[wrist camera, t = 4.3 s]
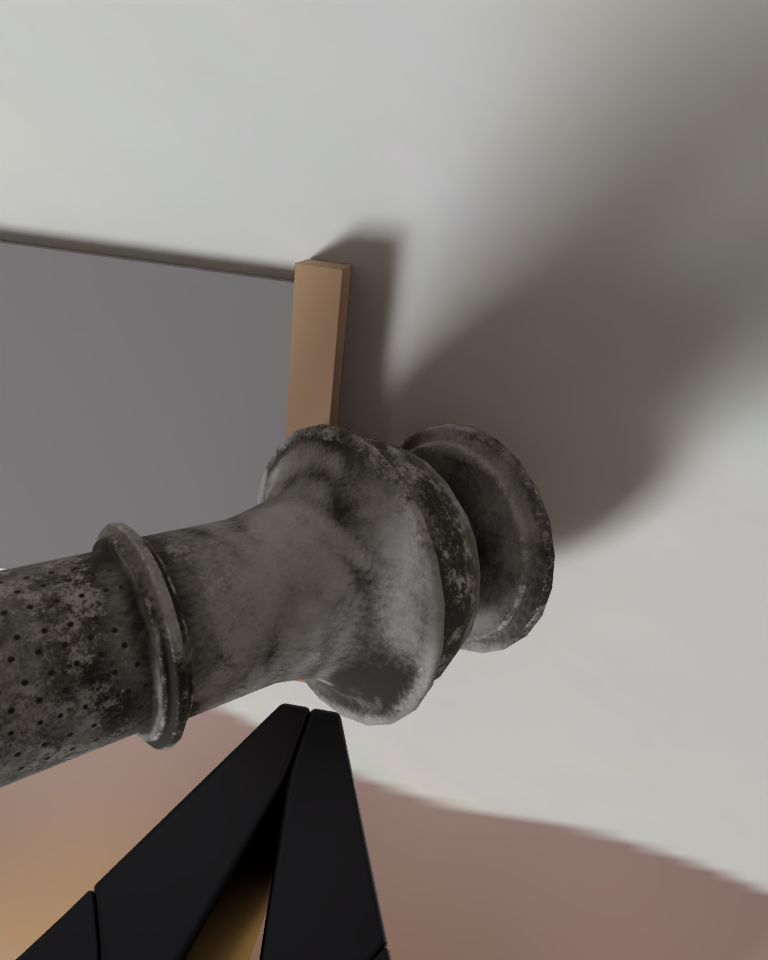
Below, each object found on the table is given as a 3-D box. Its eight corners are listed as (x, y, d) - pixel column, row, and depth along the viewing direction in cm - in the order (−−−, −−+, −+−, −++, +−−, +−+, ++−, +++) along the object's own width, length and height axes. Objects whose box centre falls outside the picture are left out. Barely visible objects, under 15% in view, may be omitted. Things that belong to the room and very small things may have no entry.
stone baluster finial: (386, 385, 16) (-329, 434, 8) (595, 453, 12) (-464, 684, 4) (365, 593, 18) (-226, 792, 10) (537, 715, 14) (-243, 1208, 6)
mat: (306, 282, 14) (302, 284, 14) (285, 607, 18) (281, 615, 18) (-145, 220, 15) (-160, 220, 15) (-77, 546, 19) (-88, 552, 18)
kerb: (351, 265, 14) (342, 269, 13) (316, 654, 19) (306, 682, 18) (308, 258, 14) (295, 263, 13) (283, 648, 19) (271, 676, 18)
